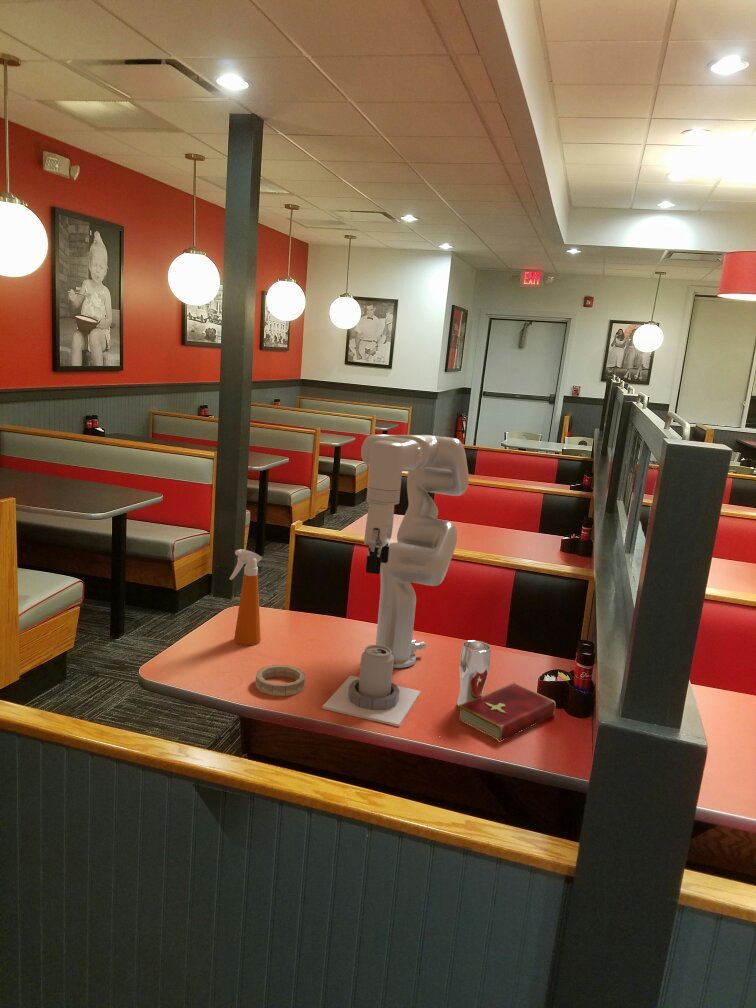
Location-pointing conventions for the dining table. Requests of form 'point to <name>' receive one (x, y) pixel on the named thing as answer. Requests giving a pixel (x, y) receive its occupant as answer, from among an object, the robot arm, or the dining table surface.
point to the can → (376, 671)
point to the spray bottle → (248, 599)
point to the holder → (372, 703)
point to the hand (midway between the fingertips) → (377, 567)
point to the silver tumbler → (473, 670)
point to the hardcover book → (507, 710)
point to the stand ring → (278, 688)
